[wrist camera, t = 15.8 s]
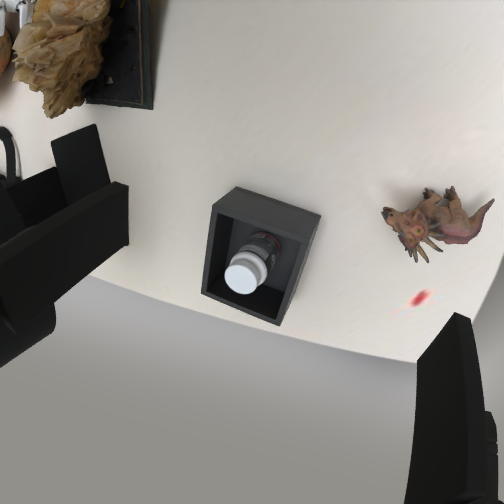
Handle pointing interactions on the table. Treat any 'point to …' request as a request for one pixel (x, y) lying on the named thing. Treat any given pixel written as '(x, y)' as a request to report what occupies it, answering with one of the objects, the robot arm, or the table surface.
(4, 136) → the virtual reality headset
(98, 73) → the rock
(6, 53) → the bowl
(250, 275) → the pill bottle
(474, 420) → the robot arm
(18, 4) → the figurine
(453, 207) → the dinosaur figurine
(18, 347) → the table lamp
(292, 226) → the basket
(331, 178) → the table surface
